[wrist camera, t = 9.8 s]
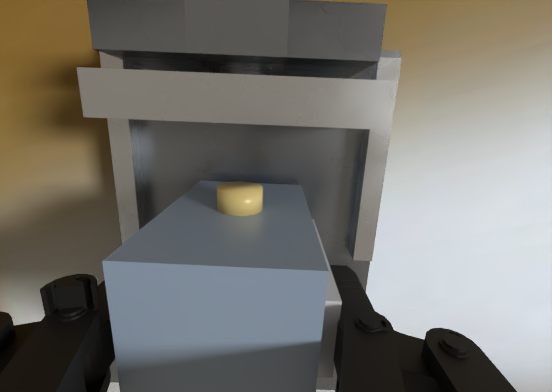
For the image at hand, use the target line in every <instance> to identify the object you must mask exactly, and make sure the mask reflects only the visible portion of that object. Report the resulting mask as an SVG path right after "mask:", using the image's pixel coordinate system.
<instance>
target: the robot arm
mask: <svg viewBox="0 0 552 392" xmlns="http://www.w3.org/2000/svg"><path fill="white" fill-rule="evenodd" d="M312 220H313V223H314V227H315V230H316V233H317V236H318V239H319V242H320V245H321V248H322V251H323V255H324V258H325V261H326V264H327V267H328V270H329V274H328V283H327V292H326V302H325V311H324V320H323V329H322V338H321V347H320V356H319V365H318V374H317V377H328V378H333V370H334V365H335V370H336V374H337V382H336V390H335V392H517V391H516V390H515V389H514V388H513V386H512V385H511V384H510V383H509V382H508V381H507V379H506V378H505V377H504V376H503V375H502V373H501V372H500V371H499V370H498V369H497V368H496V366H495V365H494V364H493V363H492V362H491V361H490V359H489V358H488V357H487V356H486V355H485V354H484V352H483V351H482V350H481V349H480V348H479V347H478V346H477V345H476V344H475V343H474V342H473V341H472V340H470V339H469V338H467V337H465V336H464V335H462V334H460V333H458V332H455V331H452V330H449V329H444V328H433V329H430V330H429V331H427V332H426V336H425V340H423V339H419V338H416V337H412V336H408V335H405V334H402V333H399V332H397V331H395V330H393V327H392V325H391V323H390V322H389V321H388V320H387V319H386V318H385V317H384V316H382V315H380V314H379V313H377V312H375V311H374V309H373V307H372V305H371V303H370V301H369V299H368V297H367V295H366V293H365V291H364V289H363V286H362V284H361V282H360V280H359V278H358V276H357V274H356V273H355V272H354V271H353V270H352V269H351V268H349V267H348V266H342V265H329V262H328V260H327V257H326V254H325V251H324V248H323V245H322V242H321V239H320V236H319V233H318V230H317V227H316V224H315V222H314V219H312ZM40 293H41V297H42V302H43V307H44V311H45V317H44V318H43V319H42V321H39V322H33V323H27V324H21V325H15V326H14V325H13V321H12V317H11V316H10V315H9V313H5V312H0V392H107V390H108V387H109V384H110V380H111V371H110V366H111V364H112V363H113V361H114V360H115V350H114V343H113V336H112V329H111V322H110V315H109V308H108V300H107V293H106V286H105V280H104V281H103V282H102V283H101V284H100V285H99V286H97V280H96V278H95V277H94V276H92V275H88V274H76V275H70V276H66V277H62V278H59V279H56V280H54V281H52V282H50V283H48V284H46V285H45V286H44V287H43V288H41V289H40Z"/></svg>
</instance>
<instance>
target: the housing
mask: <svg viewBox="0 0 552 392" xmlns="http://www.w3.org/2000/svg"><path fill="white" fill-rule="evenodd" d="M102 265H103V272H104V279H105V286H106V293H107V300H108V308H109V315H110V322H111V329H112V336H113V343H114V350H115V358H116V365H117V372H118V379H119V386H120V392H316V383H317V374H318V365H319V356H320V347H321V338H322V329H323V320H324V311H325V302H326V292H327V283H328V274H329V270H328V267H327V264H326V261H325V258H324V255H323V251H322V248H321V245H320V242H319V239H318V236H317V233H316V230H315V227H314V223H313V220H312V217H311V214H310V211H309V208H308V205H307V202H306V198H305V195H304V192H303V189H302V186H301V185H288V184H266V183H252V182H241V181H236V182H224V181H202V180H200V181H199V182H198V183H197V184H195V185H194V186H193V187H192V188H190V189H189V190H188V191H187V192H186V193H184V194H183V195H182V196H181V197H179V198H178V199H177V200H176V201H175V202H173V203H172V204H171V205H170V206H168V207H167V208H166V209H165V210H164V211H162V212H161V213H160V214H159V215H157V216H156V217H155V218H154V219H152V220H151V221H150V222H149V223H148V224H146V225H145V226H144V227H143V228H141V229H140V230H139V231H138V232H137V233H135V234H134V235H133V236H132V237H130V238H129V239H128V240H127V241H126V242H124V243H123V244H122V245H121V246H119V247H118V248H117V249H116V250H115V251H113V252H112V253H111V254H110V255H108V256H107V257H106V258H105V259H103V260H102Z"/></svg>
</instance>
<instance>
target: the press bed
mask: <svg viewBox="0 0 552 392" xmlns="http://www.w3.org/2000/svg"><path fill="white" fill-rule="evenodd" d="M87 5H88V13H89V21H90V29H91V38H92V46H93V49H95V50H98V51H99V54H100V62H101V68H109V69H133V70H156V71H179V72H202V73H220V62H239V63H262V64H272V76H295V77H318V78H341V79H365V80H388V81H397V86H398V79H399V72H400V66H401V59H402V58H400V52H401V51H382V50H381V45H382V37H383V30H384V22H385V14H386V6H387V4H372V3H350V2H328V1H306V0H87ZM397 86H396V93H397ZM396 93H395V99H396ZM394 106H395V100H394ZM394 106H393V113H394ZM393 113H392V120H393ZM392 120H391V127H392ZM107 121H108V130H109V138H110V147H111V155H112V164H113V172H114V181H115V189H116V198H117V206H118V215H119V223H120V232H121V240H122V244H123V243H124V242H126V241H127V240H128V239H129V238H130V237H132V236H133V235H134V234H135V233H137V232H138V231H139V230H140V229H141V228H143V227H144V226H145V225H146V224H148V223H149V222H150V221H151V220H152V219H154V218H155V217H156V216H157V215H159V214H160V213H161V212H162V211H164V210H165V209H166V208H167V207H168V206H170V205H171V204H172V203H173V202H175V201H176V200H177V199H178V198H179V197H181V196H182V195H183V194H184V193H186V192H187V191H188V190H189V189H190V188H192V187H193V186H194V185H195V184H197V183H198V182H199V181H200V180H202V181H224V182H236V181H241V182H252V183H266V184H288V185H301V186H302V189H303V192H304V195H305V198H306V202H307V205H308V208H309V211H310V214H311V217H312V219H314V222H315V224H316V227H317V230H318V233H319V236H320V239H321V242H322V245H323V248H324V251H325V254H326V257H327V260H328V262H329V265H342V266H348V267H349V268H351V269H352V270H353V271H354V272H355V273H356V274H357V276H358V278H359V280H360V282H361V284H362V286H363V289H364V291H365V292H366V285H367V278H368V271H369V264H370V261H372V255H373V249H374V242H375V235H376V228H377V221H378V215H379V208H380V201H381V194H382V188H383V181H384V174H385V167H386V160H387V154H388V147H389V140H390V133H391V127H390V130H377V129H353V128H329V127H305V126H281V125H258V124H234V123H210V122H186V121H162V120H138V119H114V118H107ZM110 371H111V380H110V382H119V379H118V372H117V365H116V358H115V360H114V361H113V363H112V364H111V366H110ZM336 382H337V374H336V370H335V365H334V370H333V378H328V377H317V383H316V389H320V390H336Z"/></svg>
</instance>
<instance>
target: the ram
mask: <svg viewBox="0 0 552 392" xmlns="http://www.w3.org/2000/svg"><path fill="white" fill-rule="evenodd" d="M77 74H78V81H79V88H80V95H81V103H82V110H83V117H90V118H114V119H138V120H162V121H186V122H210V123H234V124H258V125H281V126H305V127H329V128H353V129H377V130H390V127H391V120H392V113H393V106H394V100H395V93H396V86H397V81H388V80H365V79H341V78H318V77H295V76H272V64H262V63H239V62H220V73H202V72H179V71H156V70H133V69H109V68H86V67H77Z"/></svg>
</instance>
